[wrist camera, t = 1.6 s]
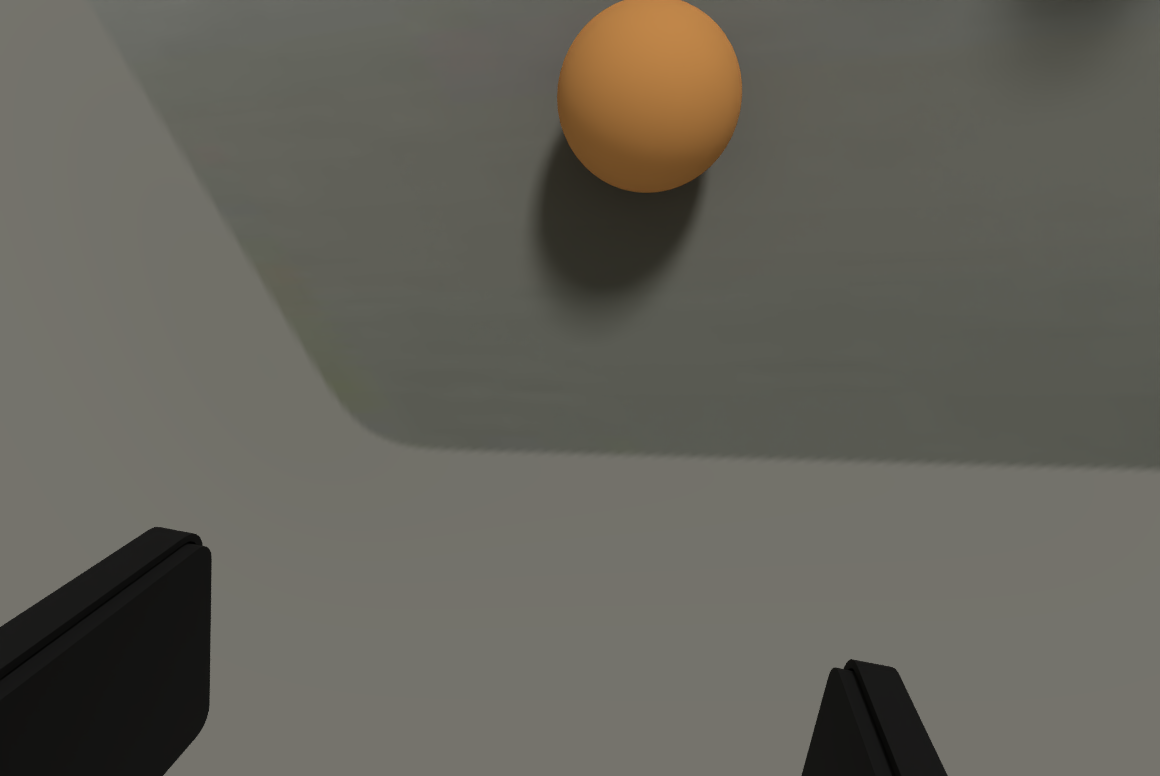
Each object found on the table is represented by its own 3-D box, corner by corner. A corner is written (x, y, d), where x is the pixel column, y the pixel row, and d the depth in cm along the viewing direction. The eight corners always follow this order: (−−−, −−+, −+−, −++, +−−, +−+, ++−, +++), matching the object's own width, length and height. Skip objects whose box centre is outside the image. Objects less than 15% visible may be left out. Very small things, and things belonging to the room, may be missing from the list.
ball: (749, 29, 24) (770, -15, 19) (717, 203, 26) (729, 206, 21) (581, 8, 25) (557, -41, 20) (559, 180, 26) (532, 177, 21)
